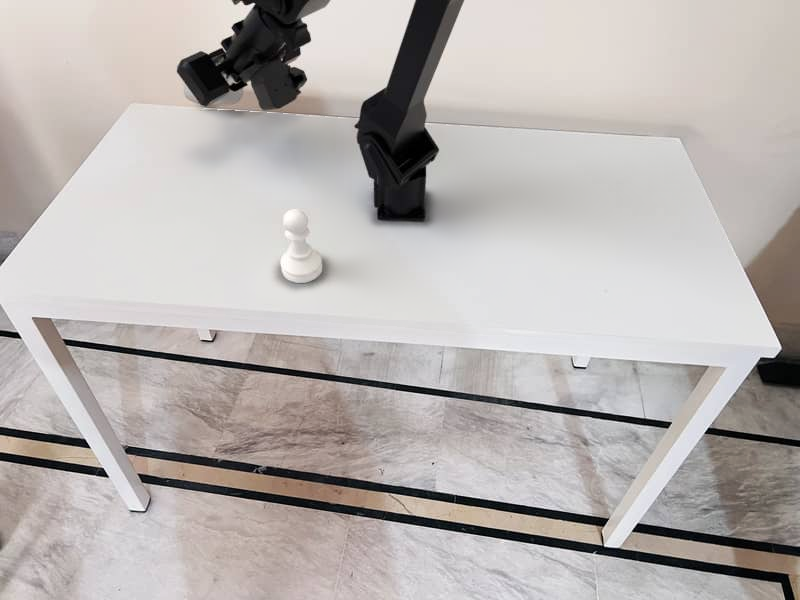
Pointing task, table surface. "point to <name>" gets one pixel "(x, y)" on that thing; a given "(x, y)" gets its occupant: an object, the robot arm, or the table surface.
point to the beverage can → (227, 100)
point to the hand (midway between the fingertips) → (222, 86)
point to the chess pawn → (299, 250)
